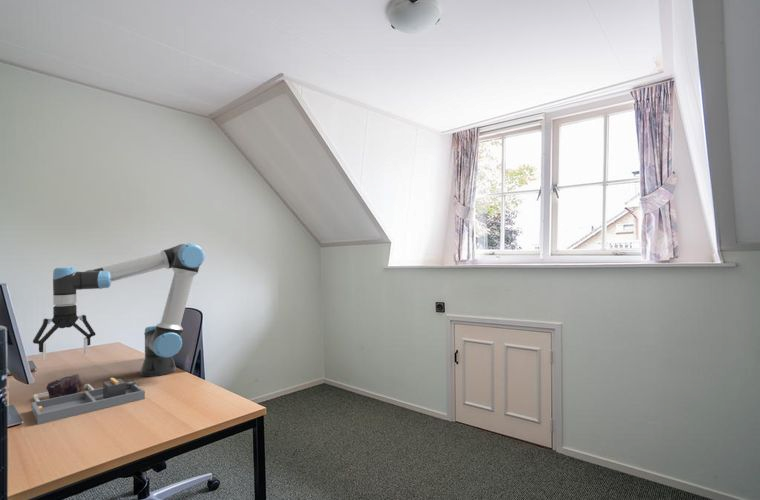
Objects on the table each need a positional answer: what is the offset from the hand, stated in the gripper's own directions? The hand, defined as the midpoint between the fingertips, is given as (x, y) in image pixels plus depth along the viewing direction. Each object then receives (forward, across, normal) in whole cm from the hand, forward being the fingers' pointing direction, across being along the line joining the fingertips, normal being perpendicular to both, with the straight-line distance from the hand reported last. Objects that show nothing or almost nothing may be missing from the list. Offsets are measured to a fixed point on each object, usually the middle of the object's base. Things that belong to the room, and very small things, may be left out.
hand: (65, 356), depth 166 cm
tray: (+16, 0, 0) cm, 16 cm away
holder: (+17, -5, +18) cm, 25 cm away
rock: (+17, 0, 0) cm, 17 cm away
